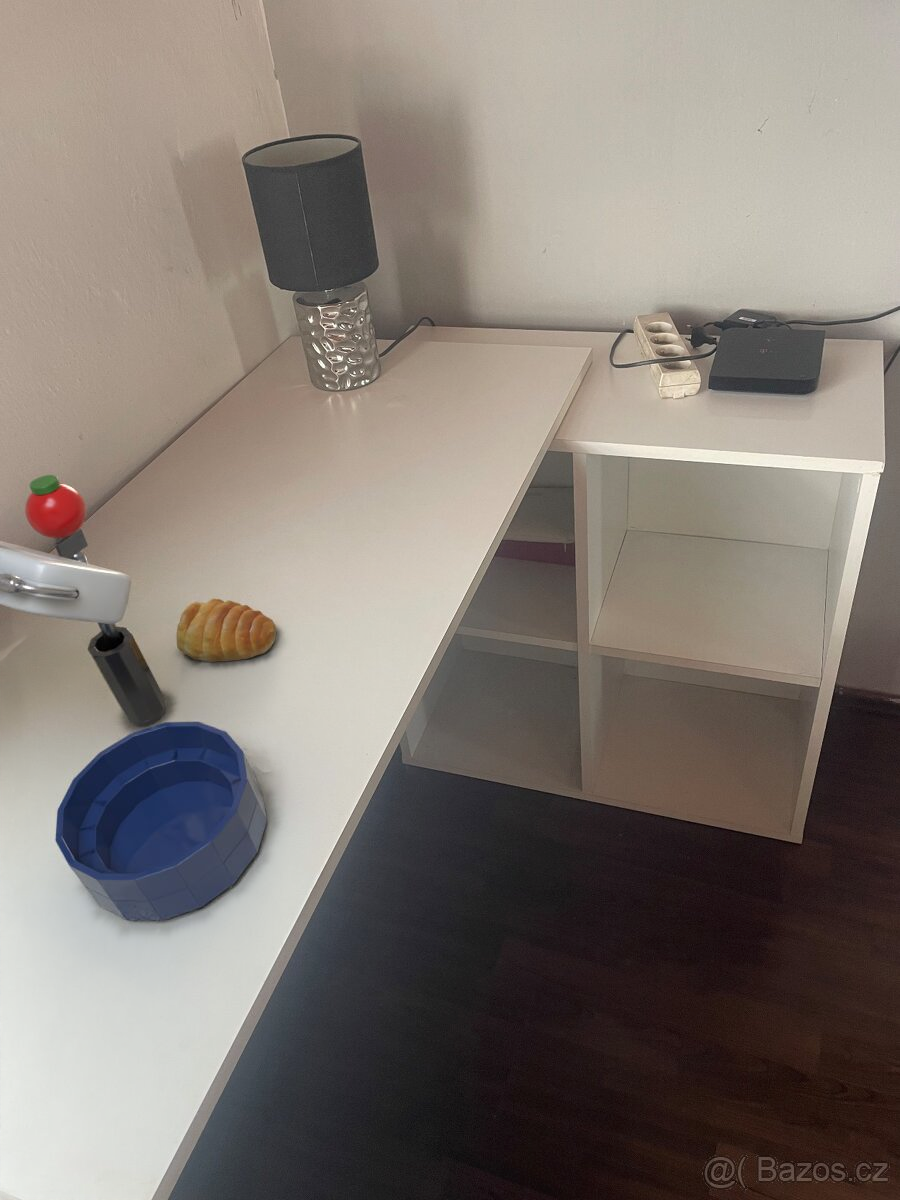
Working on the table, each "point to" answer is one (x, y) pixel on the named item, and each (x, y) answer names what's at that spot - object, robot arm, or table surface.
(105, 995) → the table surface
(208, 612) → the pastry
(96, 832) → the bowl
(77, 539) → the baster
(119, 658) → the cup
